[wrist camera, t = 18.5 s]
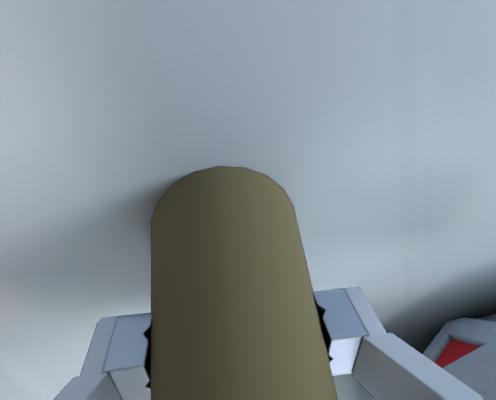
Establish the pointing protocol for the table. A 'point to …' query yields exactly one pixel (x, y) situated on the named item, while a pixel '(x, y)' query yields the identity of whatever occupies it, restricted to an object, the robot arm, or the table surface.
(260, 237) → the cork
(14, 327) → the table surface
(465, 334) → the first aid kit
